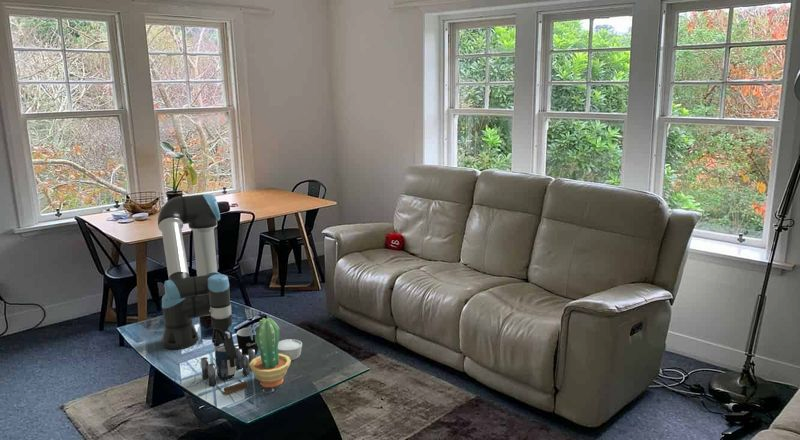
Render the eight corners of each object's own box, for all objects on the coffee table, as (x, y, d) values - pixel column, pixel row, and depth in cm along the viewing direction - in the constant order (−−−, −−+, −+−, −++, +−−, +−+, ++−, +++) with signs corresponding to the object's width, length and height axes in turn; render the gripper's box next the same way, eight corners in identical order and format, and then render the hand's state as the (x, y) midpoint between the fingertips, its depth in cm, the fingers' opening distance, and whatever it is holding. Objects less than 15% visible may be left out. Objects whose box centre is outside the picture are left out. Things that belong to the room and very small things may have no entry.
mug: (245, 361, 249) (243, 337, 247) (234, 354, 256) (232, 331, 253) (270, 352, 257) (269, 329, 255) (259, 345, 264) (258, 323, 261)
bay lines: (216, 386, 229) (216, 385, 229) (239, 379, 234) (239, 378, 234) (223, 394, 223) (223, 393, 223) (247, 386, 228) (247, 386, 228)
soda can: (231, 371, 241) (228, 342, 238) (238, 377, 236) (236, 348, 233) (214, 376, 237) (211, 347, 234) (221, 383, 231) (219, 353, 229)
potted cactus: (265, 369, 242) (261, 309, 236) (299, 375, 236) (296, 314, 231) (242, 387, 228) (237, 324, 222) (277, 394, 222) (273, 330, 217)
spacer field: (198, 374, 239) (196, 355, 237) (247, 360, 250) (246, 342, 248) (210, 387, 228) (208, 367, 226) (260, 372, 240) (259, 353, 238)
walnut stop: (224, 393, 223) (223, 387, 223) (246, 386, 228) (245, 381, 227) (225, 395, 222) (225, 389, 222) (247, 388, 227) (247, 382, 226)
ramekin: (308, 354, 255) (307, 342, 253) (289, 364, 246) (288, 352, 244) (288, 348, 261) (288, 336, 260) (269, 358, 252) (268, 346, 251)
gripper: (200, 308, 238) (205, 359, 243) (223, 328, 218) (227, 382, 223) (219, 304, 242) (223, 354, 247) (243, 323, 223) (247, 376, 227)
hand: (225, 367), depth 235 cm, fingers open, 13 cm apart
